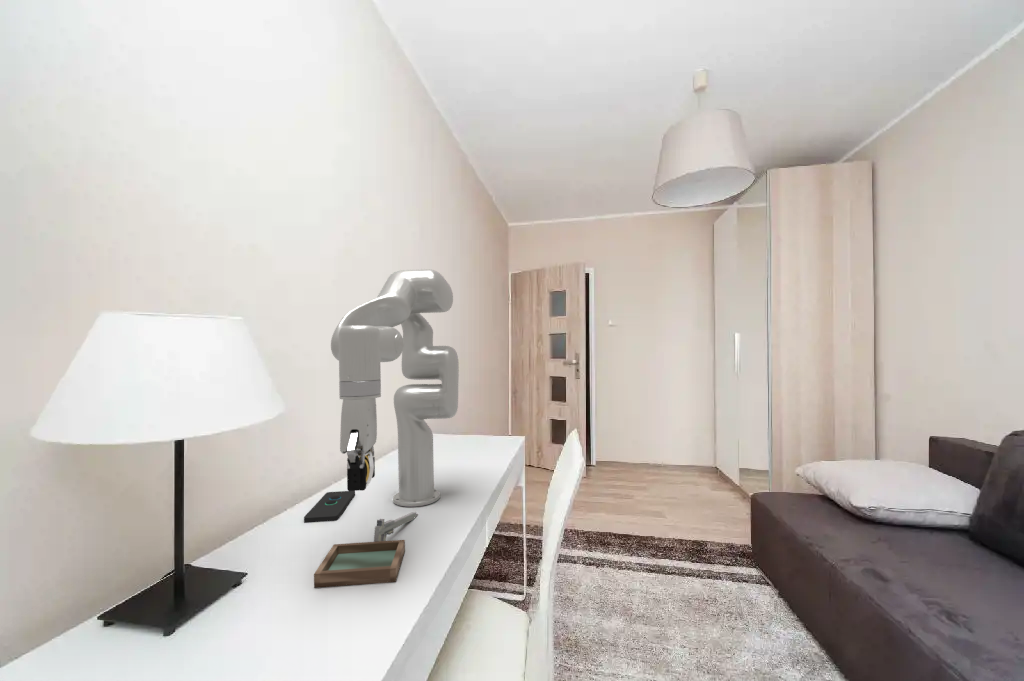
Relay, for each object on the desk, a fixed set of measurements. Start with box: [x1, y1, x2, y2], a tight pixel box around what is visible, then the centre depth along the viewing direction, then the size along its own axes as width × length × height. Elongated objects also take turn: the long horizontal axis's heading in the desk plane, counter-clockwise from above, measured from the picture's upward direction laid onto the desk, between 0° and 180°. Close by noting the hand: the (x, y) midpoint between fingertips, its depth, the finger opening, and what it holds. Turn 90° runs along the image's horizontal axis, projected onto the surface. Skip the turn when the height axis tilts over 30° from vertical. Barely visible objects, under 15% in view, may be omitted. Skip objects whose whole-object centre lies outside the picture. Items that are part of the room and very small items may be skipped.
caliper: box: [373, 511, 419, 542], centre depth 101 cm, size 21×1×6 cm, turn 170°
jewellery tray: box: [313, 539, 406, 589], centre depth 85 cm, size 12×14×2 cm
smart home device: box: [303, 490, 356, 524], centre depth 118 cm, size 8×2×20 cm
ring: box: [356, 449, 374, 491], centre depth 85 cm, size 7×3×8 cm, turn 163°
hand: (361, 482), depth 85 cm, fingers closed on ring, 7 cm apart
